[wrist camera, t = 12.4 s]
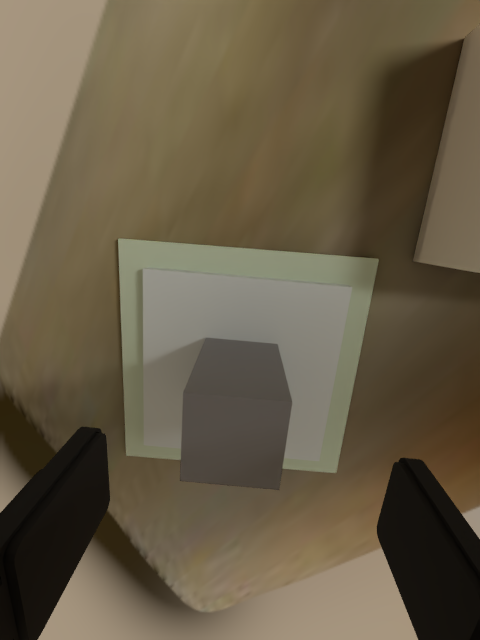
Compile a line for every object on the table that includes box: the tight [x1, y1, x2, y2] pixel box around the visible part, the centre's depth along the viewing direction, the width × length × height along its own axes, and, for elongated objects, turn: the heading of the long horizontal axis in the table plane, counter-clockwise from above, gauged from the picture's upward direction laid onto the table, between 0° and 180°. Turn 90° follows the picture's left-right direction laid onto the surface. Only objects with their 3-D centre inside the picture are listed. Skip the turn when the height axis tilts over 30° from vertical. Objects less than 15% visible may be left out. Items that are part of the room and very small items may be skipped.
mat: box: [118, 238, 379, 473], centre depth 18 cm, size 14×14×1 cm
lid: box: [143, 267, 352, 490], centre depth 15 cm, size 11×11×7 cm
